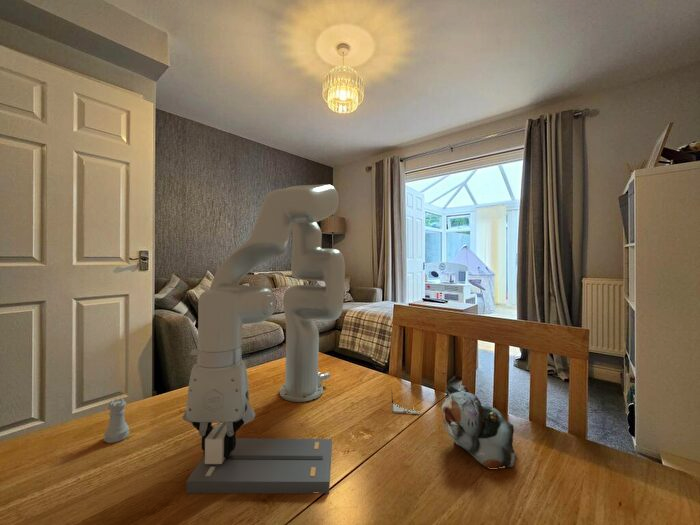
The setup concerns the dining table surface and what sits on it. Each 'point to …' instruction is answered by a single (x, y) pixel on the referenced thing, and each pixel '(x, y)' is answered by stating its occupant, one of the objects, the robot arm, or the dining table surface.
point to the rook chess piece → (116, 422)
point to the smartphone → (402, 409)
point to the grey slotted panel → (267, 468)
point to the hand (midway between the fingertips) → (219, 452)
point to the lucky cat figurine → (478, 428)
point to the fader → (215, 445)
